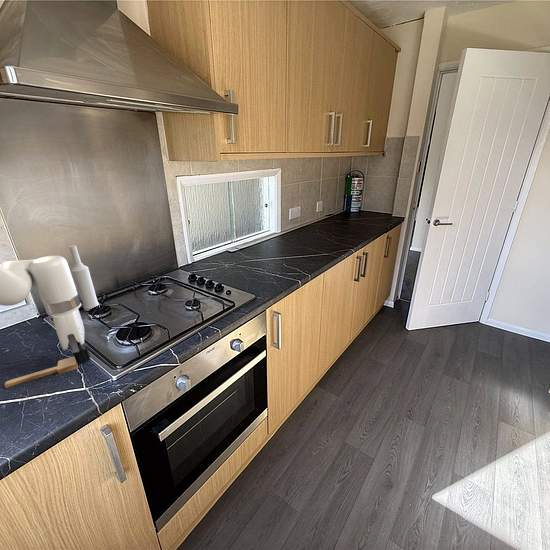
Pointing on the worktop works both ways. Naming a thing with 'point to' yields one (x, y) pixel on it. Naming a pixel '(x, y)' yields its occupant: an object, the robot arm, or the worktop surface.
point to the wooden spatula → (46, 371)
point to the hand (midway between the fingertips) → (83, 360)
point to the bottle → (83, 281)
